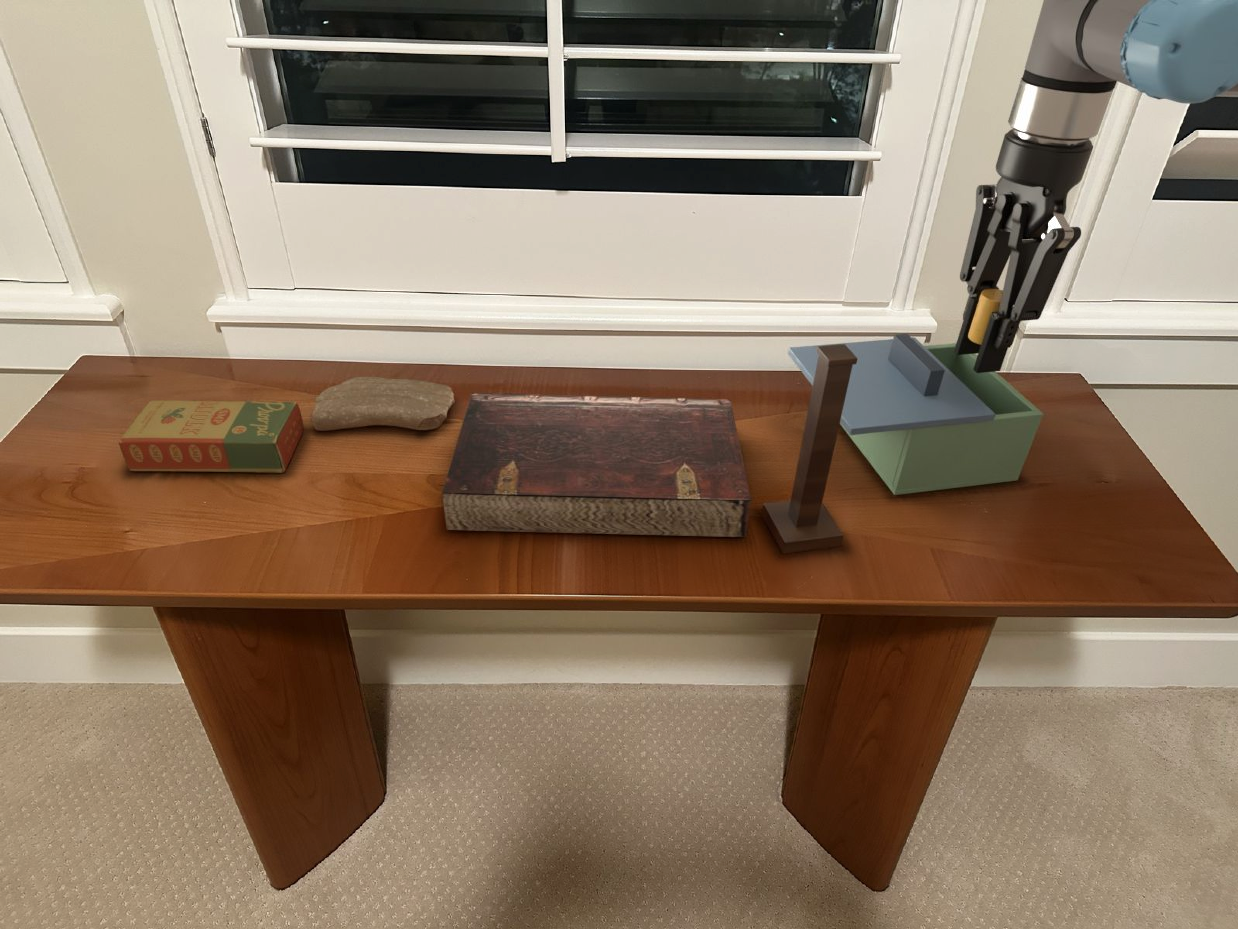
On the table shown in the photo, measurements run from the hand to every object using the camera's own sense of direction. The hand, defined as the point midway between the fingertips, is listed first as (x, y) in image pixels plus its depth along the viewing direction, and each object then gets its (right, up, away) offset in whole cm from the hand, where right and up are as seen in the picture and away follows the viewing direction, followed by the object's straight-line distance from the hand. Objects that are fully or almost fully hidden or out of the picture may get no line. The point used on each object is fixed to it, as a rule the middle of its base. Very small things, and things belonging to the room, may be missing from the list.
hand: (976, 360), depth 89 cm
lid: (-10, -3, 0) cm, 10 cm away
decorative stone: (-65, -6, +8) cm, 66 cm away
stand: (-20, -18, -7) cm, 28 cm away
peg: (0, +2, -2) cm, 3 cm away
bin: (-4, -9, +6) cm, 11 cm away
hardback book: (-41, -13, -1) cm, 43 cm away
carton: (-82, -10, +1) cm, 82 cm away
